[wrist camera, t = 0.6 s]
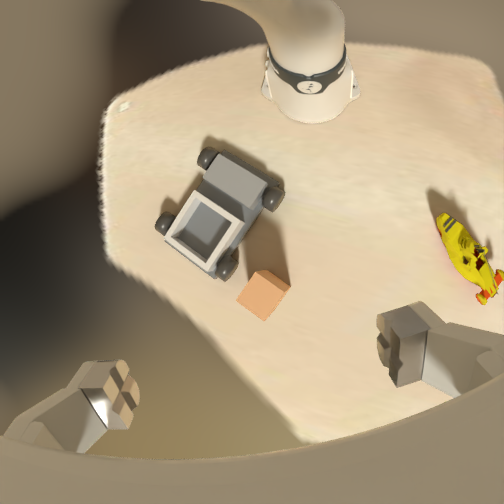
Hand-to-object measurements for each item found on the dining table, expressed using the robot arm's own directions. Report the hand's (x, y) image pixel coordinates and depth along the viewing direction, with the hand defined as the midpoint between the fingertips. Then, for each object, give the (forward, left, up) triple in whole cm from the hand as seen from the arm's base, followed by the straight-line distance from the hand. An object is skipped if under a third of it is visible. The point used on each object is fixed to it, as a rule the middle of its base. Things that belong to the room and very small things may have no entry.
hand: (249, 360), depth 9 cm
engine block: (+2, -6, -44) cm, 44 cm away
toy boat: (-5, +29, -44) cm, 53 cm away
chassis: (-11, -15, -44) cm, 47 cm away
